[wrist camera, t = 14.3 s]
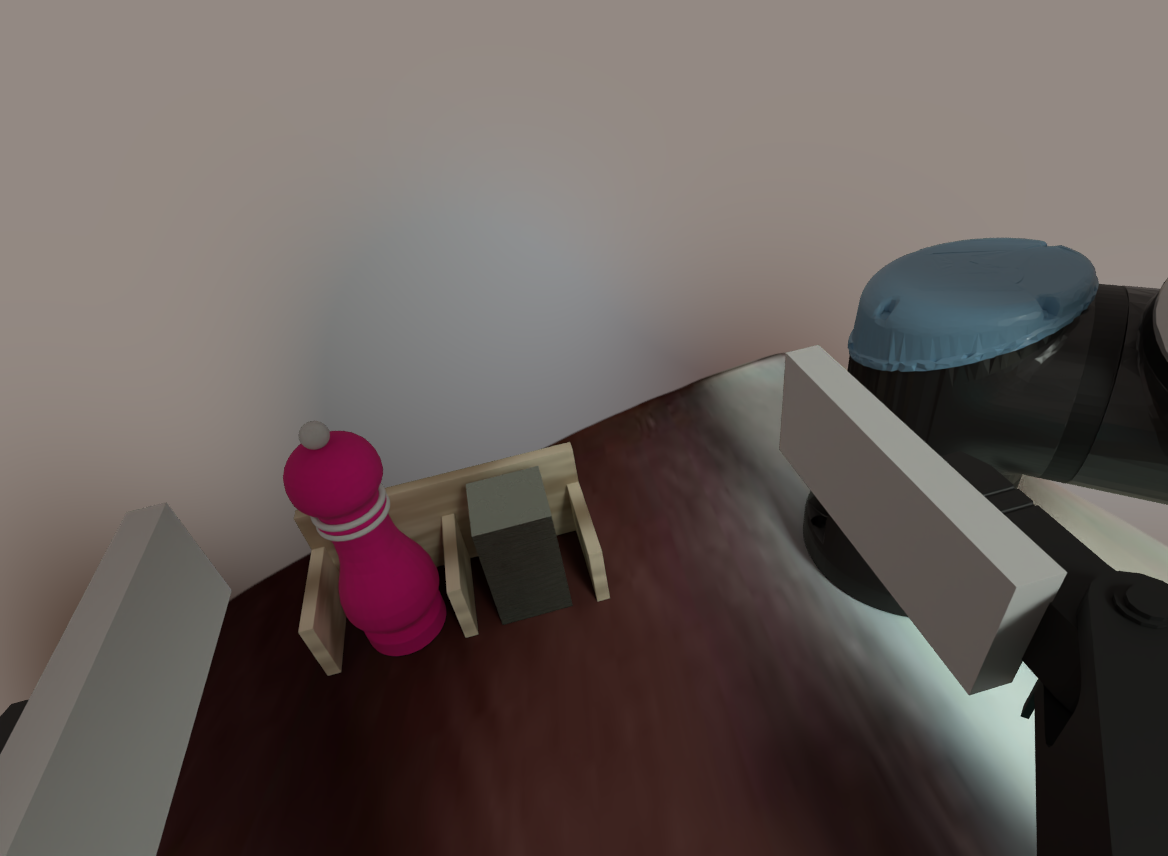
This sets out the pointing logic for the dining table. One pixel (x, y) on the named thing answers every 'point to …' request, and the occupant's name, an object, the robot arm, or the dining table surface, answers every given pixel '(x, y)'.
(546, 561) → the tea tin
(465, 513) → the spice rack
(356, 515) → the pepper mill
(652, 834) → the dining table surface
